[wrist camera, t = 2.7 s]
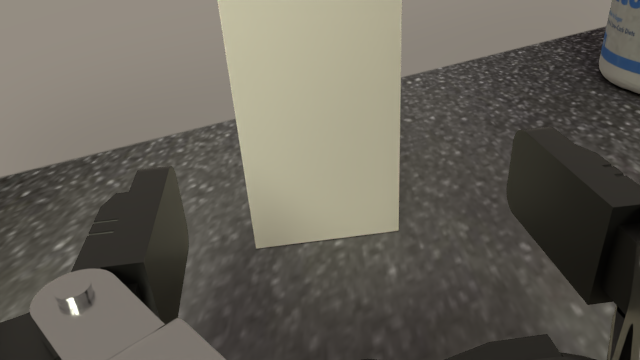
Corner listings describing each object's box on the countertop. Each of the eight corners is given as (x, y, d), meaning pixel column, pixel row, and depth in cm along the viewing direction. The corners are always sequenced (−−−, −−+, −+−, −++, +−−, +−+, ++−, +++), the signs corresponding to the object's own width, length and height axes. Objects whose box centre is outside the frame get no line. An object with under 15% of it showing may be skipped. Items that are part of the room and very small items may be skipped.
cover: (369, 164, 29) (364, -107, 22) (398, 230, 24) (403, -103, 17) (253, 177, 29) (214, -95, 22) (256, 248, 23) (203, -87, 16)
